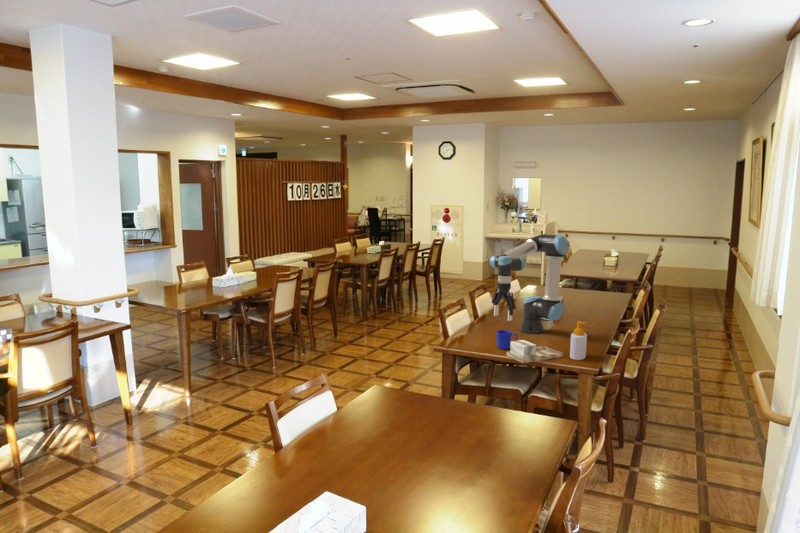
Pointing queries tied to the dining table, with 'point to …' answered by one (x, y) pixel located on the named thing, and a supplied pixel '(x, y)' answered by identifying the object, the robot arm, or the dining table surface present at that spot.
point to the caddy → (531, 352)
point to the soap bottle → (578, 343)
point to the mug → (504, 339)
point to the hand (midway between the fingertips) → (502, 318)
